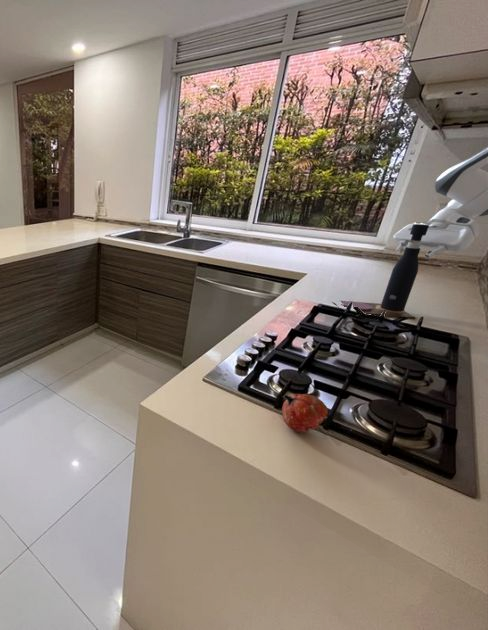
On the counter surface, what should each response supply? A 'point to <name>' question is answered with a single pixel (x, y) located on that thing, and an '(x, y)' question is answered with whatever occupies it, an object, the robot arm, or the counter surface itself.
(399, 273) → the dark water bottle
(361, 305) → the plum plate
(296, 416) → the pomegranate
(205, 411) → the counter surface
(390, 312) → the placemat
